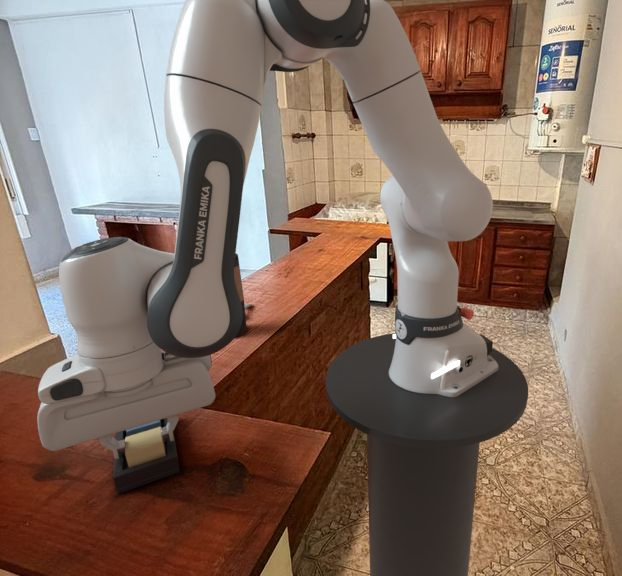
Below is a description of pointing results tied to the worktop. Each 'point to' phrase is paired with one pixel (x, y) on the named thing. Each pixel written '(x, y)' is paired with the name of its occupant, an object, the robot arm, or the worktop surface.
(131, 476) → the backing frame
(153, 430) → the pad beige
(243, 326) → the travel mug
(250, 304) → the spoon
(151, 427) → the pad blue
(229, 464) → the worktop surface
